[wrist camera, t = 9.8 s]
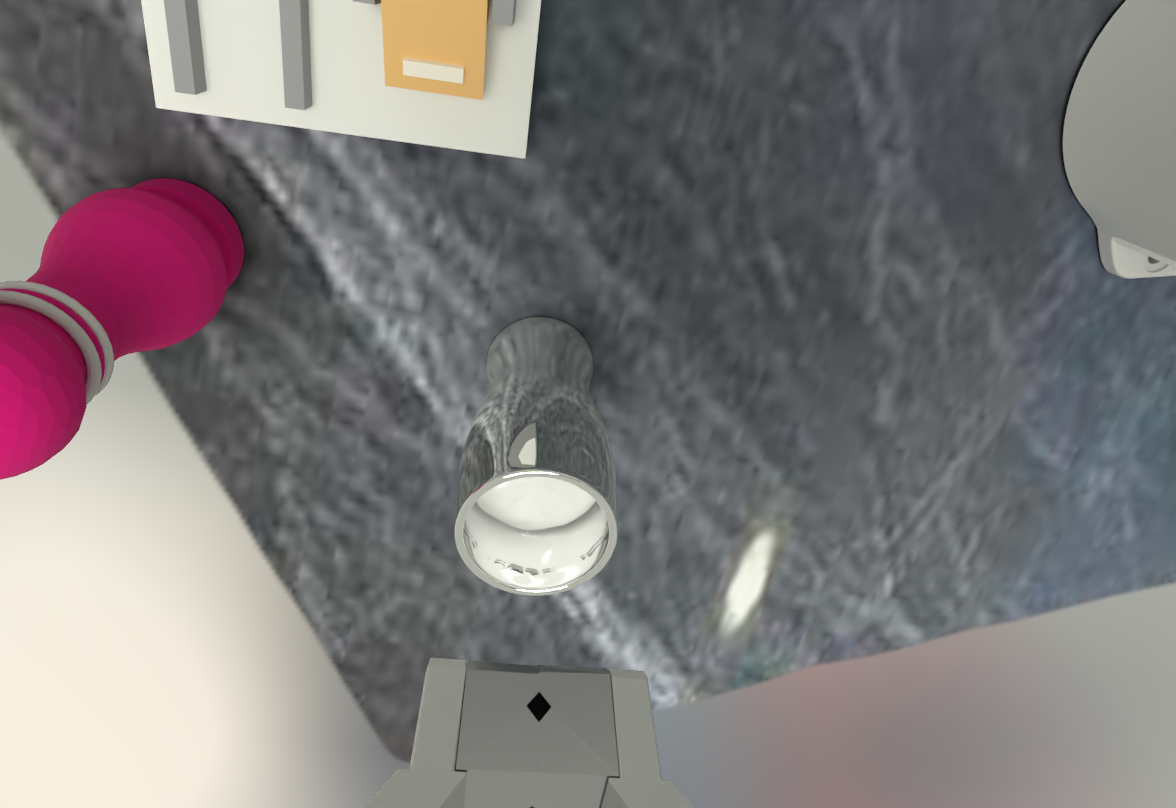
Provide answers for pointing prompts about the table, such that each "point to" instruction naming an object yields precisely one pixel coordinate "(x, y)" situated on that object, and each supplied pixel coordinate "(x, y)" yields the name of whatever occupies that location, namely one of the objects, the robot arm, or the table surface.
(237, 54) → the console
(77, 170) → the table surface
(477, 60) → the amber rocker
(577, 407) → the beer glass
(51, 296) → the pepper mill
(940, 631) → the table surface
